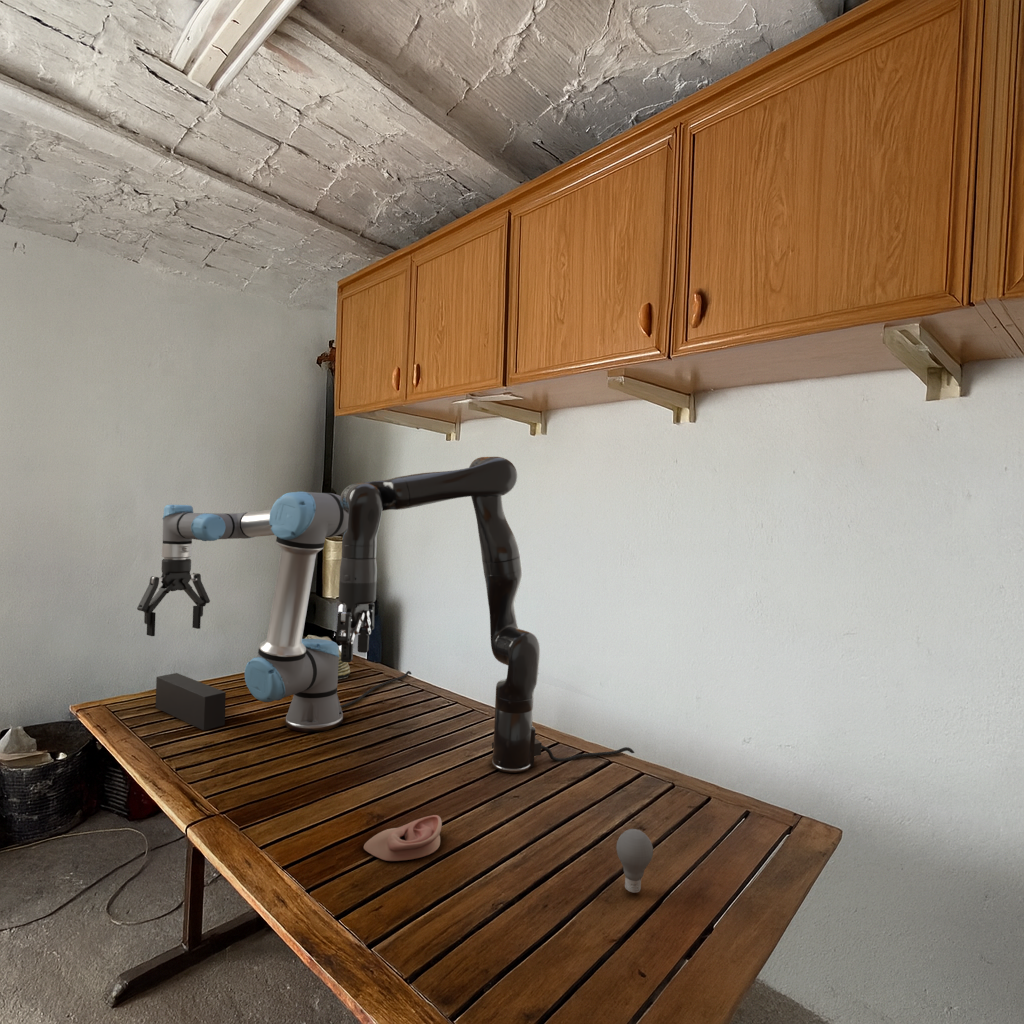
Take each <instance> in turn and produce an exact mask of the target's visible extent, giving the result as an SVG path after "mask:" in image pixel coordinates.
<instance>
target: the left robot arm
mask: <svg viewBox="0 0 1024 1024" xmlns="http://www.w3.org/2000/svg"><path fill="white" fill-rule="evenodd" d="M340 497H341V495H339V494H335V493H331V492H314V491H313V492H312V491H302V490H301V491H290V492H287V493H284V494H282V495H281V496H280V497H278V498H277V499H276V500H275V502H273V505H272V506H271V508H270V509H264V510H255V511H254V510H253V511H245V512H236V513H233V512H232V513H231V512H230V513H224V512H222V513H220V512H219V513H217V512H213V513H211V512H210V513H209V512H206V513H205V512H194V508H193V505H190V504H166V505H165V506H164V508H163V515H162V516H163V517H162V543H161V544H162V546H161V557H162V559H161V576H153V575H152V576H150V578H149V584H148V586H147V588H146V590H145V591H144V594H143V596H142V597H141V600H140V602H139V603H138V606H137V608H136V610H137V611H139V612H143V614H144V615H143V618H144V619H143V622H144V623H143V624H144V625H146V636H149V637H155V636H156V612H154V610H155V609H156V608H157V607H158V606H159V604H160V603H161V602H162V601H163V599H164V598H165V597H166V595H167V594H169V593H170V592H176V591H184V592H185V594H186V595H187V596H188V597H189V598H190V599H191V601H192V602H193V603H194V604H195V605H192V624H191V625H192V627H191V628H192V629H197V630H200V629H201V621H202V620H201V618H202V617H203V616H204V607H206V606H207V604H210V602H211V600H210V597H209V595H208V592H207V591H206V588H205V587H204V584H203V581H202V575H201V574H200V573H197V572H193V573H191V571H192V559H191V557H192V549H193V548H192V544H193V540H198V541H203V542H214V541H218V540H231V539H232V540H235V539H237V540H238V539H239V540H240V539H242V540H243V539H252V538H258V537H259V538H260V537H269V536H275V537H276V539H275V543H276V545H278V547H279V548H280V555H279V561H278V567H277V573H276V579H275V584H274V585H275V586H274V590H273V591H274V592H273V598H272V602H271V603H272V604H271V609H270V615H269V622H268V628H267V635H266V639H264V640H263V641H261V642H260V643H259V644H258V651H257V656H255V657H252V658H251V659H250V661H248V662H247V663H246V665H245V668H244V681H245V685H246V687H247V688H248V690H249V693H250V694H251V695H252V696H253V698H255V699H256V700H258V701H260V702H263V703H271V702H275V701H280V700H283V699H285V698H287V697H291V696H293V697H292V699H291V702H290V704H289V708H288V711H287V713H286V715H285V726H286V728H287V729H289V730H291V731H294V732H295V731H296V732H301V733H316V732H325V731H329V730H332V729H335V728H337V727H339V726H340V725H342V723H343V722H344V713H343V709H344V708H346V707H349V706H351V705H353V704H355V703H357V702H359V701H360V700H362V699H364V697H366V696H367V695H368V694H370V693H372V692H373V691H374V690H377V689H378V688H381V687H383V686H385V685H388V684H391V683H393V682H396V681H400V680H402V679H404V678H406V677H408V675H412V672H411V671H410V670H407V671H406V672H405V674H402V675H401V676H398V677H395V678H392V679H389V680H386V681H385V682H382V683H380V684H377V685H375V686H373V687H371V688H370V689H368V690H366V691H365V692H364V693H363V694H362V695H361V696H359V697H357V698H356V699H353V700H351V701H349V702H347V703H344V704H341V702H340V699H339V695H338V682H339V679H338V664H339V650H340V647H339V645H338V642H336V641H333V640H332V641H329V640H322V639H305V638H303V636H304V630H305V623H306V617H307V611H308V606H309V599H310V594H311V587H312V582H313V576H314V571H315V564H316V558H317V554H318V553H319V552H320V551H322V550H323V549H324V548H325V543H326V542H325V541H326V538H332V537H336V536H339V535H342V534H344V532H345V531H346V530H347V528H348V518H349V514H348V513H346V512H345V511H344V510H343V508H342V506H341V503H340ZM191 581H192V584H193V586H194V588H195V590H196V591H195V590H194V589H193V586H191V584H190V582H191ZM160 584H161V585H160ZM159 585H160V587H159ZM158 587H159V588H158ZM342 708H343V709H342Z"/></svg>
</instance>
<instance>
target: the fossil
mask: <svg viewBox="0 0 1024 1024" xmlns="http://www.w3.org/2000/svg"><path fill="white" fill-rule="evenodd" d="M304 639H322V640H329V641H333V640H332V639H331V638H330V637H329V636H317V635H312V634H308V635H307V636H306V637H304ZM350 674H351V668H350V665H349V662H342V661H341V649H339V664H338V680H341V679H346V678H348V677H349V676H350Z"/></svg>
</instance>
